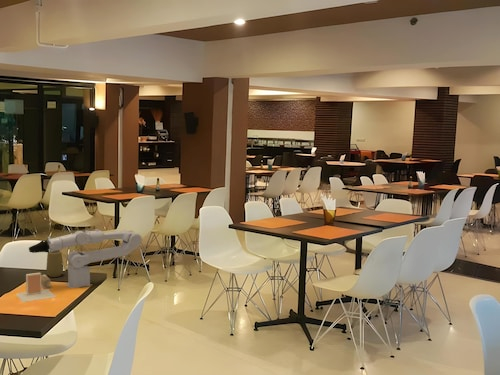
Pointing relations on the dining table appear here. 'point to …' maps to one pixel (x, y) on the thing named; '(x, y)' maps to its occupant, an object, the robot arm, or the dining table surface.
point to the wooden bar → (45, 282)
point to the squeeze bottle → (54, 264)
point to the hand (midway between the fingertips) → (30, 250)
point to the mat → (35, 296)
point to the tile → (33, 283)
